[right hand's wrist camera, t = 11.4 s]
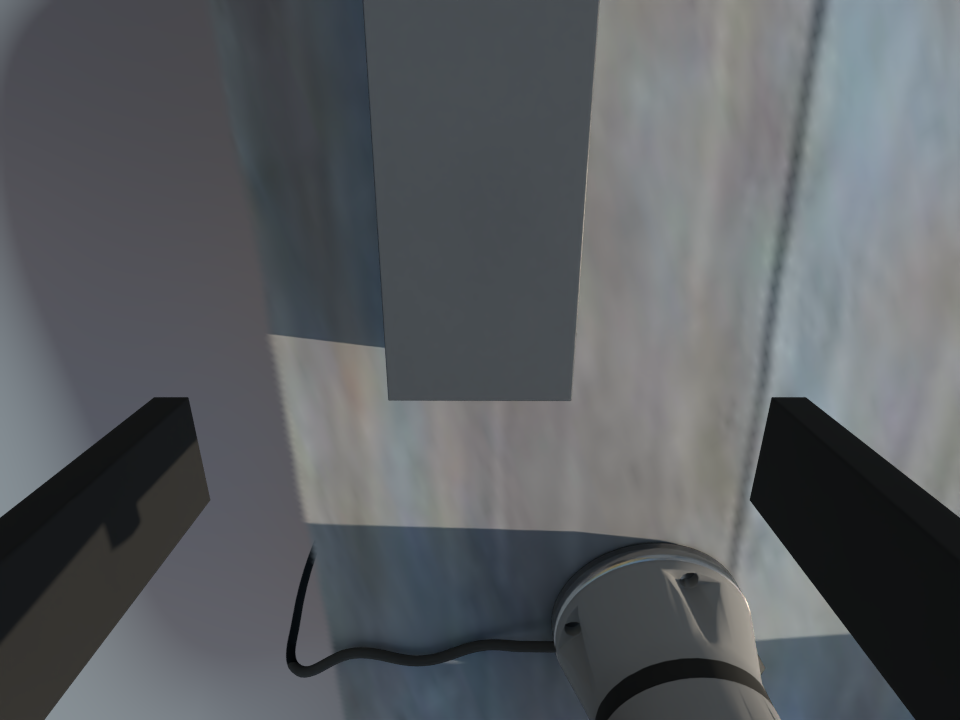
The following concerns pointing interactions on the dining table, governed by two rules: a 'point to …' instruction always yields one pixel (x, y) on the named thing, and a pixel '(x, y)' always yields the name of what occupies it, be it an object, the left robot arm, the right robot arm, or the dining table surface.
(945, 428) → the dining table surface
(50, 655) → the right robot arm
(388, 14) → the wide beam
